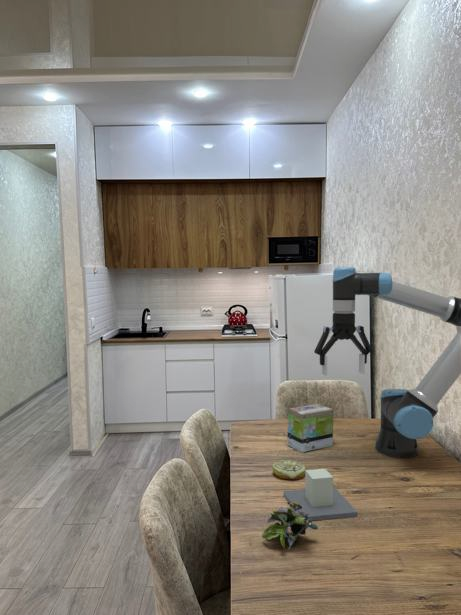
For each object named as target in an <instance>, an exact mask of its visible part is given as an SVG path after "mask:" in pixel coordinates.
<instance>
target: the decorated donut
mask: <svg viewBox="0 0 461 615" xmlns="http://www.w3.org/2000/svg"><path fill="white" fill-rule="evenodd" d="M305 470H307V469H306V467H305V465H304V464H303V462H300V461H296V460H294V459H280V460H278V461H275V463H273V464H272V471H273V473H274V475H275V476H277V477H278V478H279V479H282V480H291V481H292V480H295V481H296V480H300V479H302V478H304V477H305Z"/></svg>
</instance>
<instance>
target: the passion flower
mask: <svg viewBox="0 0 461 615" xmlns="http://www.w3.org/2000/svg"><path fill="white" fill-rule="evenodd" d="M286 503H287V504H288V506H289V507H288V506H287V507H285V508H284V507H281V508H278V509H277V510H275V509H272V512H270V515H271V516H270V517H269V518H268V520H267V524H269V523H272V522H275V523H274V524H273V523H272V524H270V525H269V526H268V527H267V528H265V530H264V531H263V532H262V534H261V537H262V539H265V540H266V541H271V540H272V539H275V538H277V537H280V538H279V541H280V544H281V546H282V548H283V549H285V548H286V544H285V542H286V541H285V540H286V538H287V543H288V547H287V548H288V549H287V550H286V552H287V553H289V551H290V549H291V547H292V546H293V543H294V542H295V541H296V540H297V538H298V536H299V535H304V536H306V531H307V529H308V528H310V529H312V530H315V531H316V530H318V529H319V527H318V525H316V524H314V523H313V522H312V521H311V518H309V517H308V515H309V514H307V513H306V514H304V512H299V509H302V506H301V505H300V504H297V503H295V502H288V501H287V502H286ZM292 507H293V508H294V509H292ZM297 510H298V511H297ZM277 521H278V522H277ZM289 527H290V532H289V530H288V529H289Z"/></svg>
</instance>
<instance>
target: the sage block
mask: <svg viewBox="0 0 461 615" xmlns="http://www.w3.org/2000/svg"><path fill="white" fill-rule="evenodd" d="M304 477H305V478H304V479H305V480H304V483H305V485H304V486H305V488H304V489H305V497H306V499H307V500H308V502H309V503H310V504H311V506H312V507H317V506H328V505H333V487H334V477H333V475H331V473H330V472H329V471H328V470H327V469H326V468H317V469H315V468H314V469H305V475H304Z"/></svg>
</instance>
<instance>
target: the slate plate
mask: <svg viewBox="0 0 461 615" xmlns="http://www.w3.org/2000/svg"><path fill="white" fill-rule="evenodd" d="M283 496H284V498H285V499H286V501H287V502H295V503H297V504H300V505H301V506H302V509H299V512H304V514H306V513H307V514H309V515H308V517H309V518H311V522H312V521H313V522H314V521H323V520H324V521H325V520H334V519H335V520H336V519H343V518H355V517H358V511H357V510H356V509H355V507H353V506H352V504H351V503H350V502H349V501H348V500H347V499H346V498H345V497H344V496H343V495H342V493H341V492H340V491H339V490H338V489H337V488H336V486H333V505H328V506H317V507H312V506H311V504H310V503H309V502H308V500H307V499H306V497H305V488H303V489H301V488H300V489H292V490H291V489H290V490H283ZM291 508H292V509H294V508H293V507H291ZM297 511H298V510H297Z"/></svg>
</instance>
